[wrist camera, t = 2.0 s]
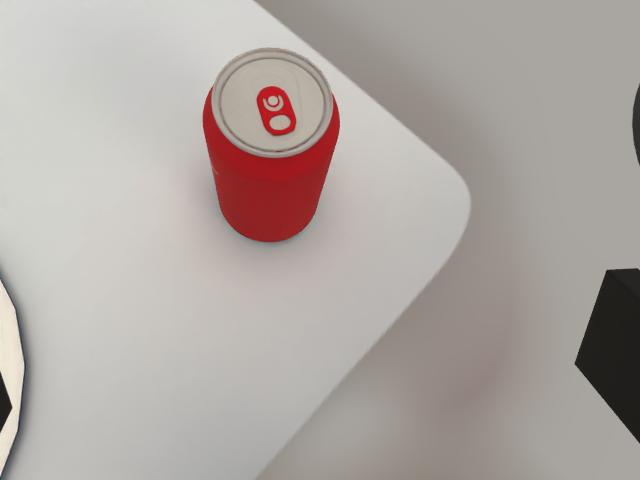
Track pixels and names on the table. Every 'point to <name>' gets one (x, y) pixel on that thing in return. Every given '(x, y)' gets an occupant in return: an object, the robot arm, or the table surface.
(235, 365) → the table surface
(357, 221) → the table surface
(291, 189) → the beverage can
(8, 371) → the plate
